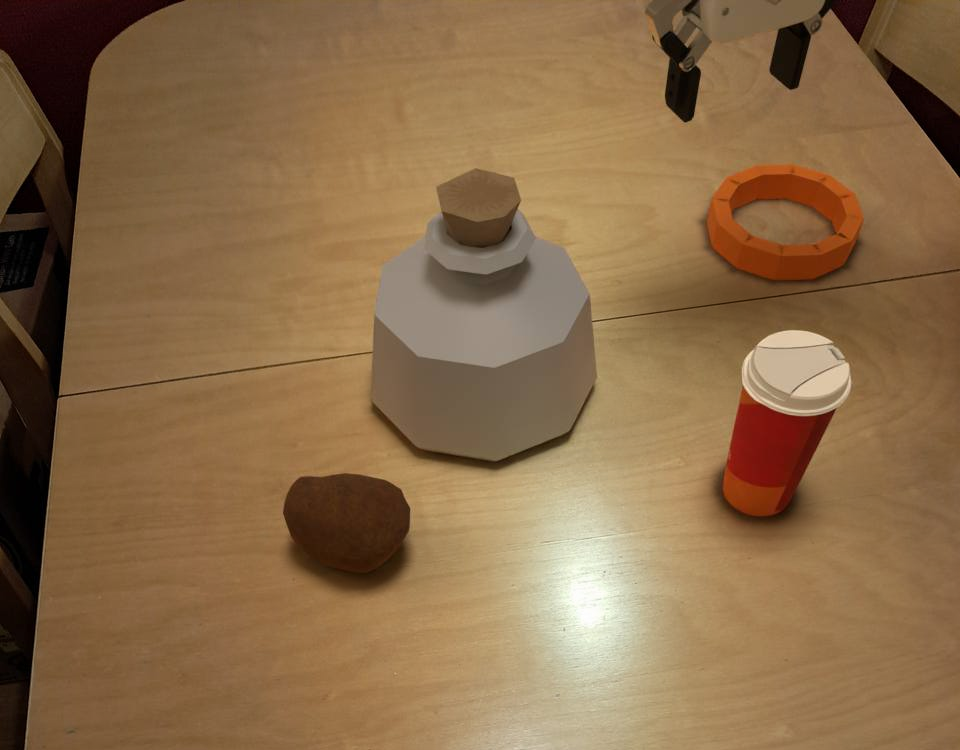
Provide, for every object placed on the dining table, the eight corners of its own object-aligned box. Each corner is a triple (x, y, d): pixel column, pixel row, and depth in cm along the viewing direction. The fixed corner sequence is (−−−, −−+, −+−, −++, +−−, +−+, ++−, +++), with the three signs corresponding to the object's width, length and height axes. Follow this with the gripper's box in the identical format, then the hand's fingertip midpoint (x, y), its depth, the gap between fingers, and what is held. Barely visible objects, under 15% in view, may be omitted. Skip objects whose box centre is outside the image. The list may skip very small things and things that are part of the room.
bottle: (596, 474, 81) (620, 288, 65) (363, 468, 82) (330, 282, 66) (594, 313, 92) (615, 118, 76) (387, 308, 93) (364, 114, 77)
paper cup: (776, 447, 83) (823, 314, 71) (820, 514, 79) (877, 386, 67) (692, 470, 82) (725, 339, 70) (732, 539, 78) (775, 414, 66)
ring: (835, 189, 101) (844, 162, 98) (866, 279, 94) (876, 253, 91) (699, 193, 101) (704, 166, 99) (719, 284, 94) (725, 257, 91)
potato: (299, 513, 80) (281, 447, 73) (418, 517, 80) (411, 451, 73) (286, 587, 76) (265, 525, 69) (410, 591, 76) (402, 529, 69)
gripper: (699, -117, 59) (661, 151, 73) (930, -175, 62) (850, 92, 77) (637, -163, 62) (612, 101, 77) (859, -215, 66) (795, 47, 81)
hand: (731, 96), depth 77 cm, fingers open, 9 cm apart
